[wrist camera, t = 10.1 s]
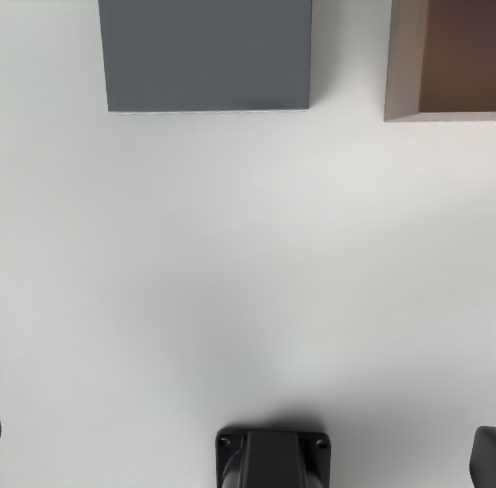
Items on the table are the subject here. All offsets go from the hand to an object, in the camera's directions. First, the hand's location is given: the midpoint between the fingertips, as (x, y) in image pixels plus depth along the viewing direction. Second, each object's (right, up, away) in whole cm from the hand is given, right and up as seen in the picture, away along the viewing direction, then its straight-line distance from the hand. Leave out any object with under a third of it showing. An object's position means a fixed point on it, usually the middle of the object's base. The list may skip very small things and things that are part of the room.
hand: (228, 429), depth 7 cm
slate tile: (-1, +14, +10) cm, 17 cm away
